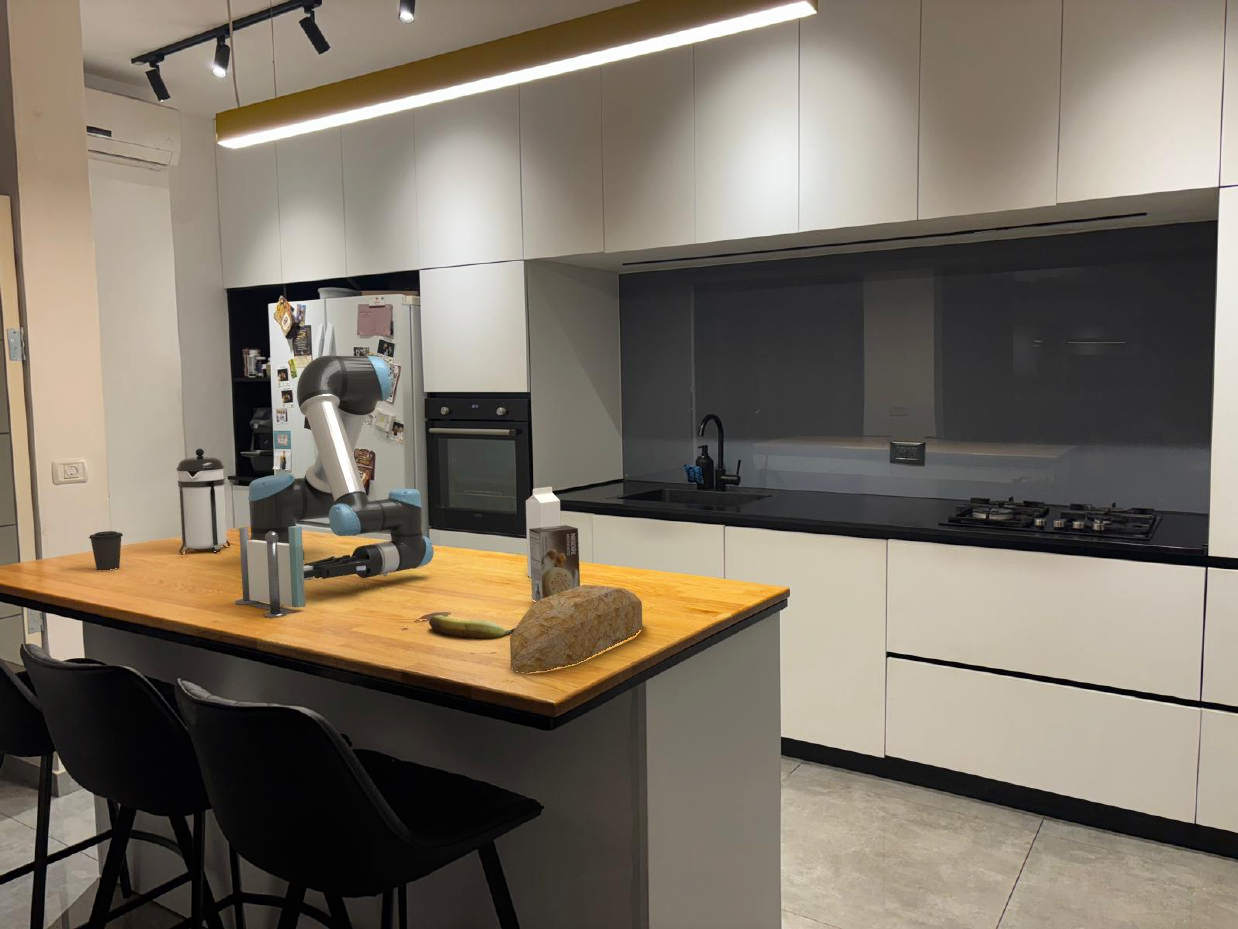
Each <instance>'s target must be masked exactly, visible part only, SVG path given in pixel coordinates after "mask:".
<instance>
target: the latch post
mask: <svg viewBox="0 0 1238 929" xmlns="http://www.w3.org/2000/svg"><path fill="white" fill-rule="evenodd" d="M265 540H266V542H267V558H268V578H269V598H270V603H269V604H270V611H268V612H265V613H263V615H264V616H266V617H265V618H268V617H275V618H280V617H279V616H282V617H284V616H287V615H288V614H287V612H286V611H280V607H281V605H280V593H279V572H278V551H277V541H278V534H277V533H276V532H273V531H271V532H268V533H267V534H266V535H265ZM264 616H263V617H264Z"/></svg>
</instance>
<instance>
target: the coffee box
mask: <svg viewBox="0 0 1238 929" xmlns="http://www.w3.org/2000/svg"><path fill="white" fill-rule="evenodd" d="M529 533H530V559H531V578H530V583H531V600H532V599H533V600H535V601H536V602H537V601H538V600H540V599H543V598H546V597H549V596H552V595H555V594H558V593H561V592H564V591H567V590H570V589H573V588H575V587H578V586H581V578H580V576H581V575H580V571H581V570H580V548H579V528H578V527H574V526H571V525H566V524H565V525H564V524H563V525H560V526H552V527H541V528H531V529H529ZM536 602H535V603H536Z"/></svg>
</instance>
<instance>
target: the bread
mask: <svg viewBox="0 0 1238 929" xmlns="http://www.w3.org/2000/svg"><path fill="white" fill-rule="evenodd" d="M514 628H515V630H514V631H513V633H512V635H509V645H510V646H509V647H510V648H509V649H510V651H509V653H510V668H511V667H512V668H513V669H512V668H511V669H512V671H513V670H514V671H518V672H524V673H530V672H536V671H547V670H551V669H554V668H557V667H565V666H568V665H572V664H577V663H579V662H581V661H584V660H586V659H587V658H589V657H592V656H593V655H595V654H598V653H599V652H601V651H603V650H606V649H607V648H609V647H612V646H614V645H615V644H617V643H620V642H622V641H624V640H627V639H628V638H630V637H633V636H635V635H636V633H638V632H639V630H641V628H642V629H643V604H642V600H640V599H639V597H638V596H637V595H636V593H633V591H632V592H631V591H629V590H627V589H626V588H622V587H615V586H614V587H613V586H607V585H606V586H605V585H597V584H595V585H594V584H582V585H581V584H580V586H578V587H575V588H573V589H570V590H567V591H564V592H561V593H558V594H555V595H552V596H549V597H546V598H543V599H540V600H538V601H537V602H534V604H533V605H531V607H529V609H527V611H526V612H525V614H524V615H523V616H522V617H521V619H520V621H519V622H518V624H517V625H516V627H514ZM514 671H513V672H514Z"/></svg>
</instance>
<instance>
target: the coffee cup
mask: <svg viewBox="0 0 1238 929" xmlns="http://www.w3.org/2000/svg"><path fill="white" fill-rule="evenodd" d="M123 536H124V534H123V532H120V531H119V532H118V531H115V530H112V531H111V530H108V531H106V530H105V531H100V532H99V531H98V532H95V533H94V534H90V535H89V536H88V539H90V542H91V543H90V544H91V548H92V553H93V559H94V563H95V569H96V571H97V570H110V569H115V568H119V569H120V565H121V562H120V561H121V550H122V549H121V548H122V547H121V546H122V537H123Z"/></svg>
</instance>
